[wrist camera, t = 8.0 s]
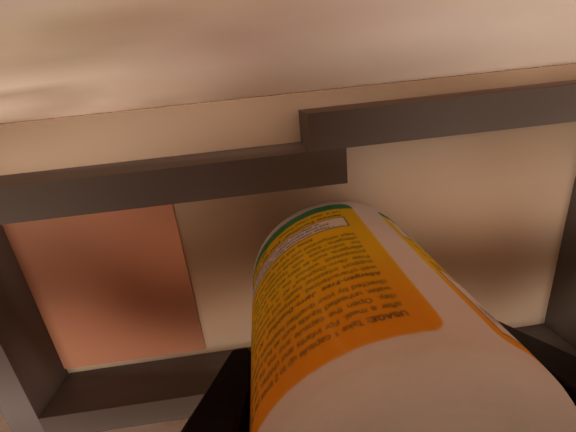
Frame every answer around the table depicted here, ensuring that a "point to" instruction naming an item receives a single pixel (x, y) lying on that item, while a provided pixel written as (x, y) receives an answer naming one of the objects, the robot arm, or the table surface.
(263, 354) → the supplement bottle
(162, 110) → the grey flat frame
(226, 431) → the robot arm
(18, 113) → the table surface
